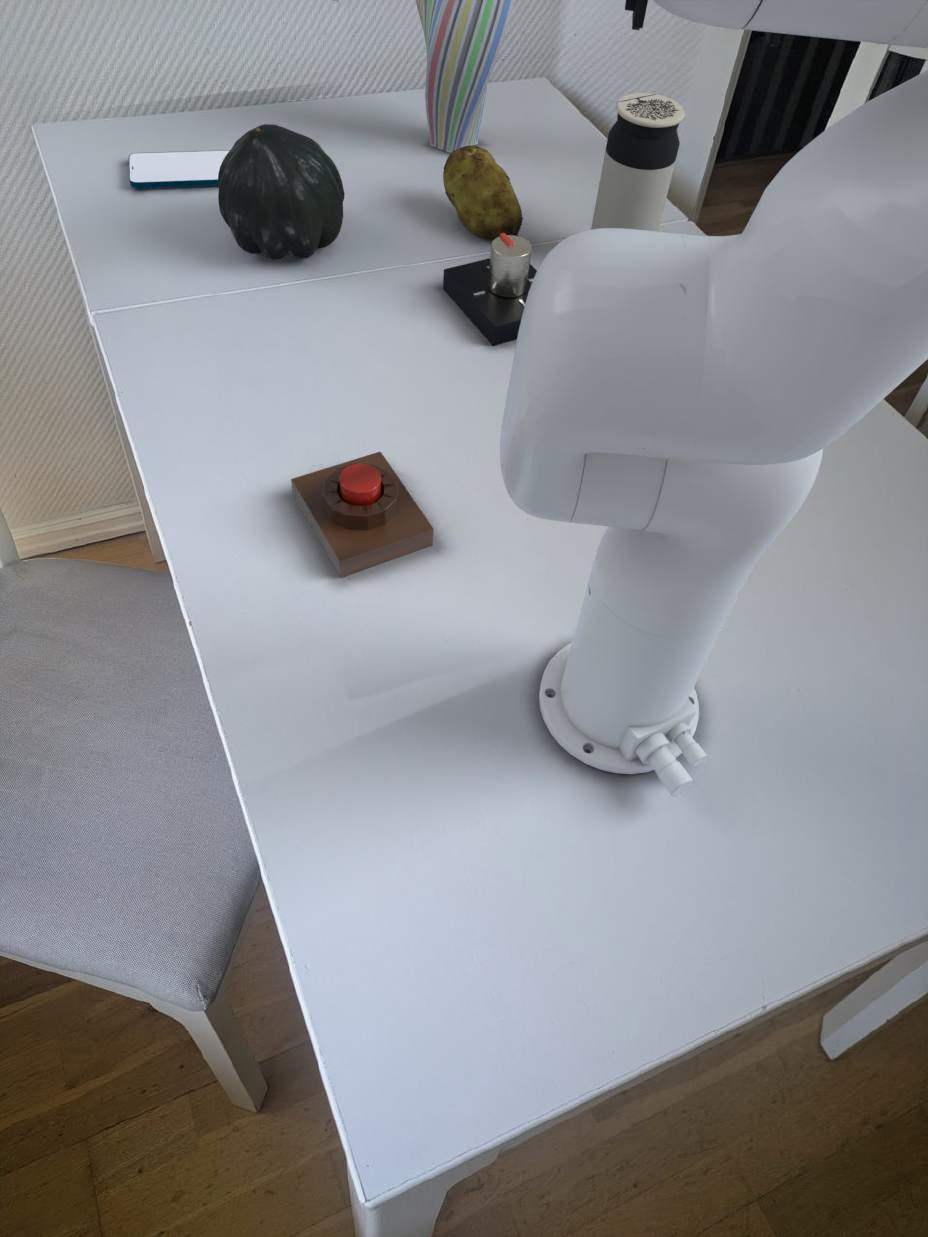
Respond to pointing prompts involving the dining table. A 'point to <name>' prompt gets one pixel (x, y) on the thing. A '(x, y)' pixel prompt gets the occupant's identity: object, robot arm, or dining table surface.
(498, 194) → the potato
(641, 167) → the travel mug
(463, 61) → the vase
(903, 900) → the dining table surface
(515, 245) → the hob knob
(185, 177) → the smartphone
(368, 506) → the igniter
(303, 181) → the squash
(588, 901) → the dining table surface
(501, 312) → the hob panel
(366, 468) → the button
